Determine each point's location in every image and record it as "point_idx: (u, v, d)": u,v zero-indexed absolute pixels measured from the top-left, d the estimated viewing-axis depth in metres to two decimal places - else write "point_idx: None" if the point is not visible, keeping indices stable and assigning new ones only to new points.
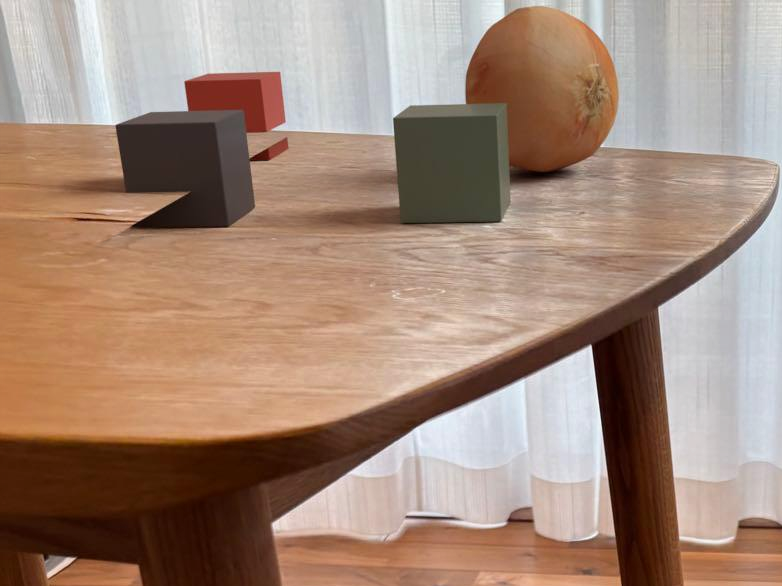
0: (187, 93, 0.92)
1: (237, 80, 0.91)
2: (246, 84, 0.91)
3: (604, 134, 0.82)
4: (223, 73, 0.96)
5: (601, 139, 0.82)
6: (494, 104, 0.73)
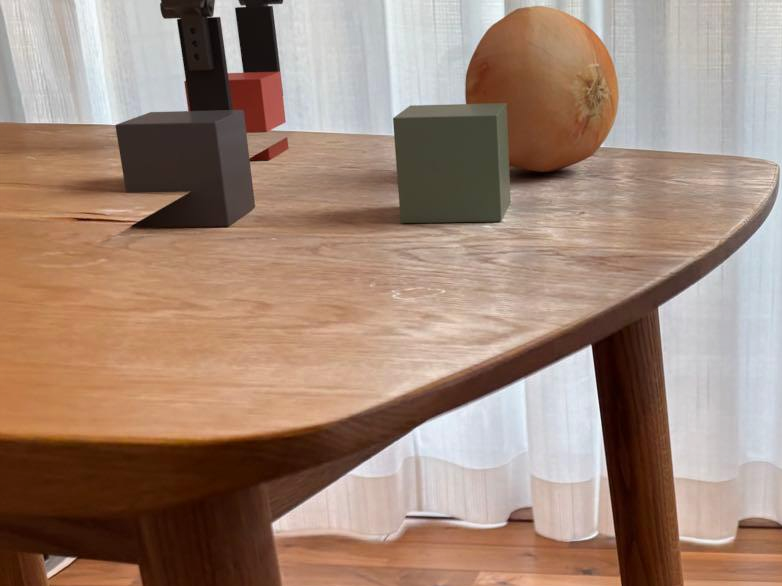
0: (187, 93, 0.92)
1: (237, 80, 0.91)
2: (246, 84, 0.91)
3: (604, 134, 0.82)
4: None
5: (601, 139, 0.82)
6: (494, 104, 0.73)
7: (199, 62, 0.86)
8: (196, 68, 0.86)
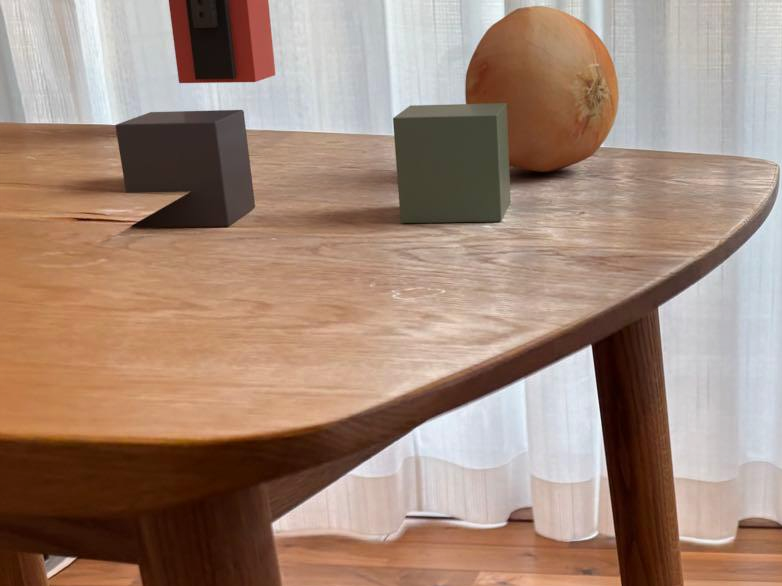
0: (171, 11, 0.90)
1: None
2: (232, 2, 0.89)
3: (604, 134, 0.82)
4: None
5: (601, 139, 0.82)
6: (494, 104, 0.73)
7: (203, 20, 0.88)
8: (201, 26, 0.88)
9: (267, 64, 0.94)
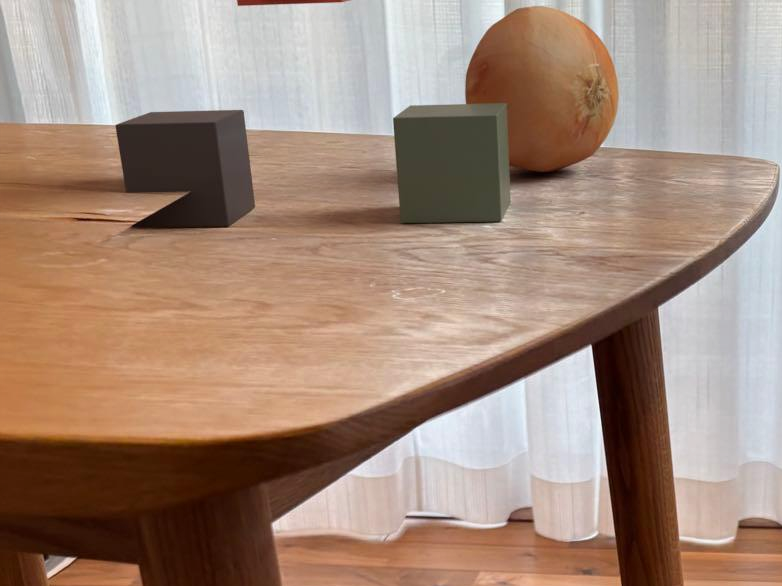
0: None
1: None
2: None
3: (604, 134, 0.82)
4: None
5: (601, 139, 0.82)
6: (494, 104, 0.73)
7: None
8: None
9: None
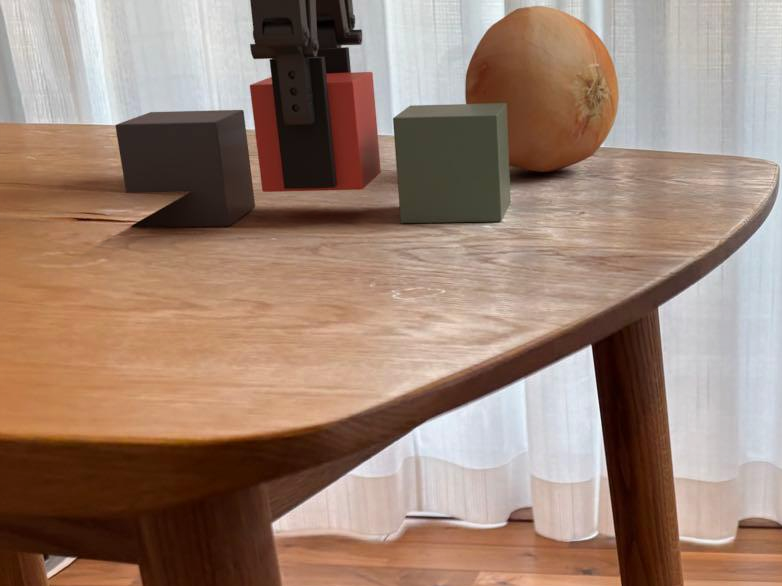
0: (253, 101, 0.69)
1: None
2: (333, 88, 0.68)
3: (604, 134, 0.82)
4: None
5: (601, 139, 0.82)
6: (494, 104, 0.73)
7: (297, 115, 0.67)
8: (293, 122, 0.67)
9: (373, 162, 0.73)
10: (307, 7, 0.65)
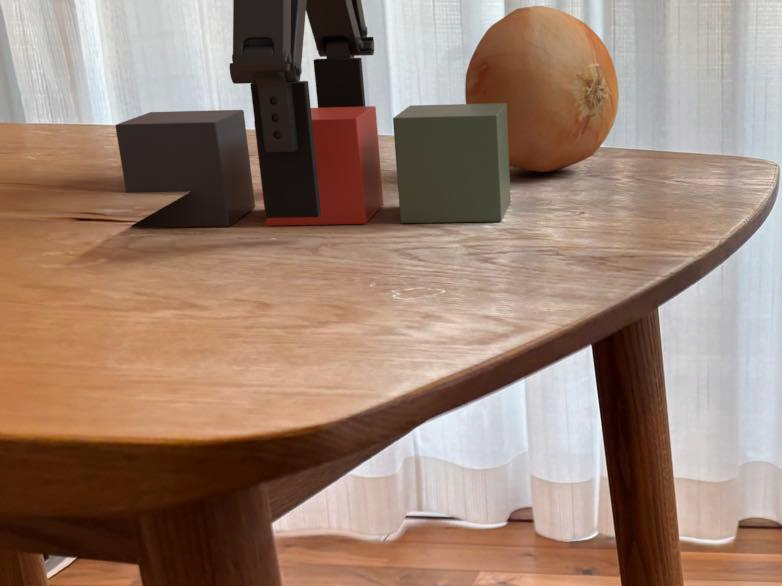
0: None
1: (325, 120, 0.69)
2: (337, 125, 0.69)
3: (604, 134, 0.82)
4: None
5: (601, 139, 0.82)
6: (494, 104, 0.73)
7: (279, 142, 0.64)
8: (275, 149, 0.64)
9: (376, 195, 0.74)
10: (294, 31, 0.63)
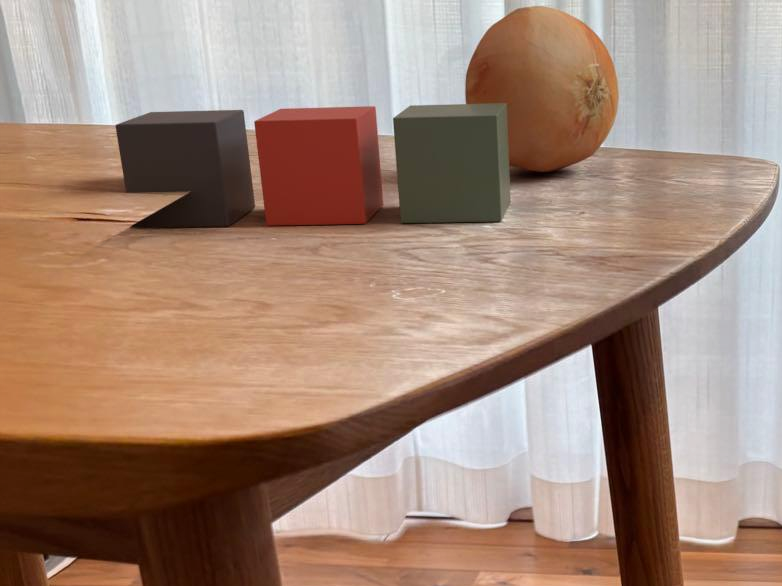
0: (258, 137, 0.69)
1: (325, 120, 0.69)
2: (337, 125, 0.69)
3: (604, 134, 0.82)
4: (301, 108, 0.74)
5: (601, 139, 0.82)
6: (494, 104, 0.73)
7: None
8: None
9: (376, 195, 0.74)
10: None
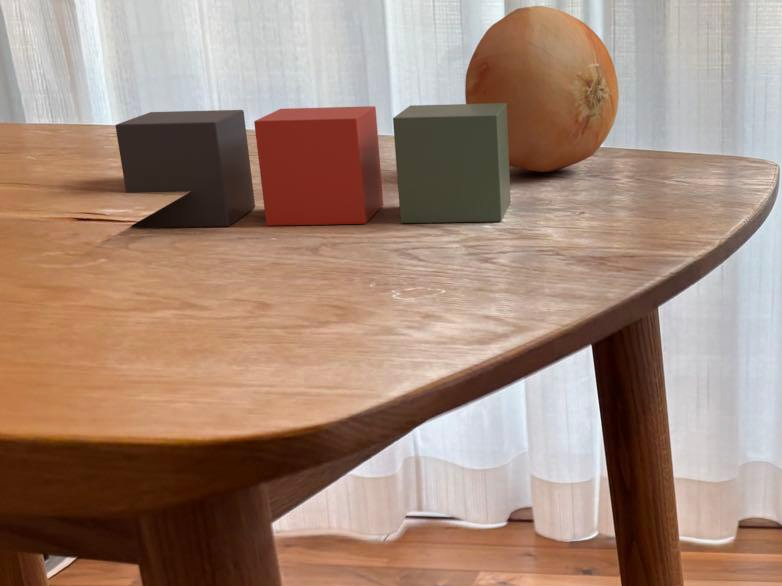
0: (258, 137, 0.69)
1: (325, 120, 0.69)
2: (337, 125, 0.69)
3: (604, 134, 0.82)
4: (301, 108, 0.74)
5: (601, 139, 0.82)
6: (494, 104, 0.73)
7: None
8: None
9: (376, 195, 0.74)
10: None
